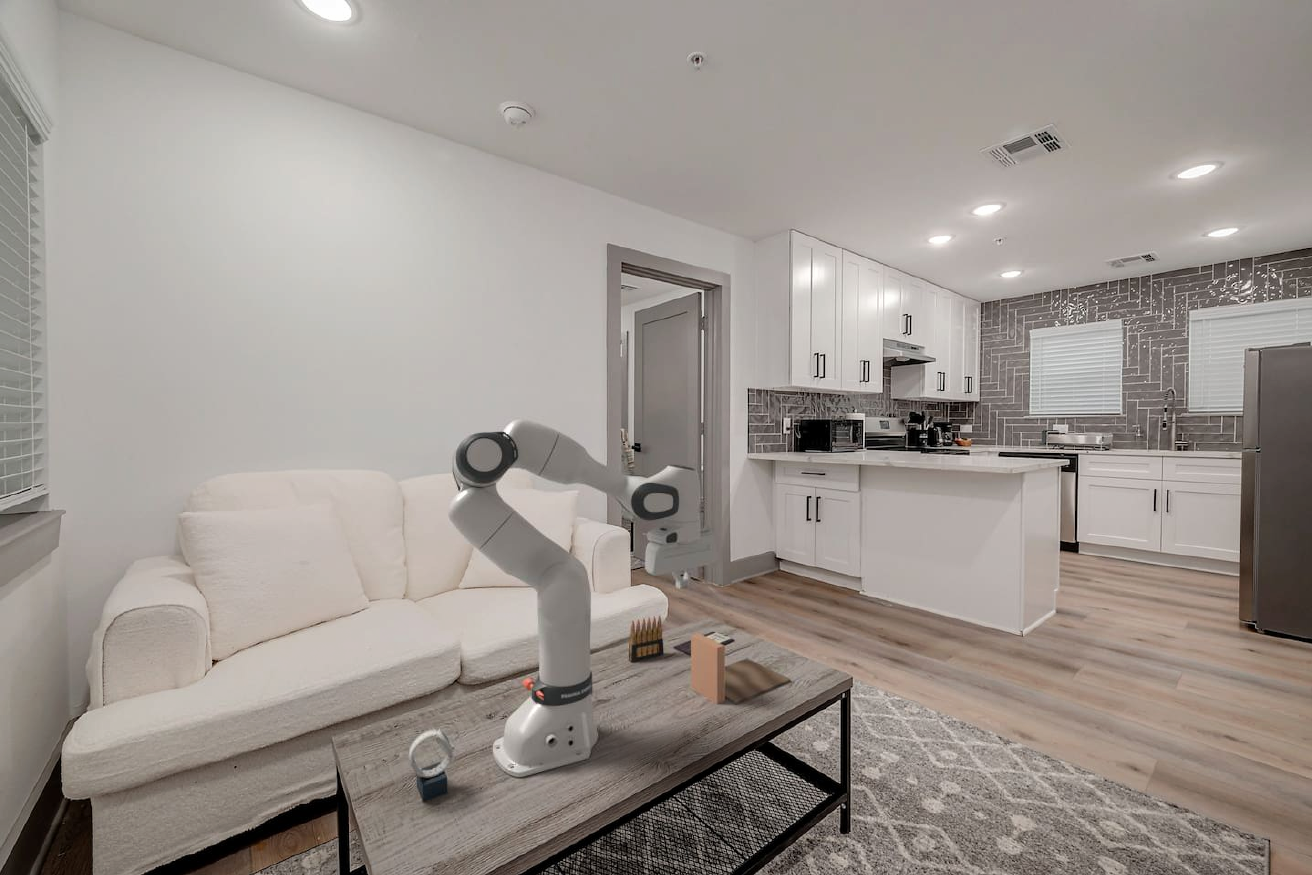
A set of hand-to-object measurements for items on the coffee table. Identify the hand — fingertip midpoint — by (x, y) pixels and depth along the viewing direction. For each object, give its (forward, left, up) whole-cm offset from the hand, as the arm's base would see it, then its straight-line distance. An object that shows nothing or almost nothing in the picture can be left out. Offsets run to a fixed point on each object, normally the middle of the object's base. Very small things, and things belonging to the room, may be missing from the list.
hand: (682, 587), depth 134 cm
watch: (-58, +4, -29) cm, 65 cm away
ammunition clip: (+8, +27, -29) cm, 41 cm away
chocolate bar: (+28, +24, -30) cm, 47 cm away
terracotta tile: (+8, 0, -29) cm, 30 cm away
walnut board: (+21, 0, -29) cm, 36 cm away
